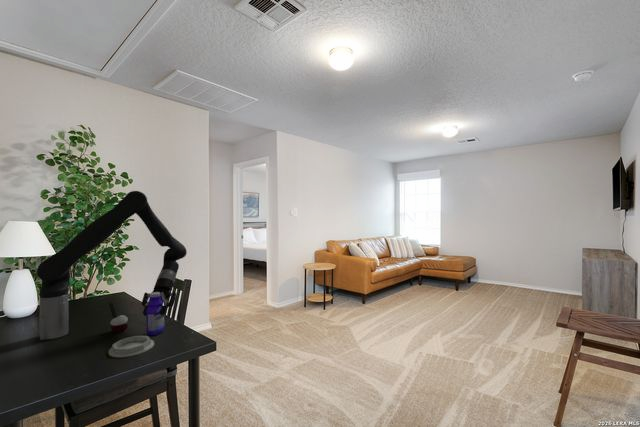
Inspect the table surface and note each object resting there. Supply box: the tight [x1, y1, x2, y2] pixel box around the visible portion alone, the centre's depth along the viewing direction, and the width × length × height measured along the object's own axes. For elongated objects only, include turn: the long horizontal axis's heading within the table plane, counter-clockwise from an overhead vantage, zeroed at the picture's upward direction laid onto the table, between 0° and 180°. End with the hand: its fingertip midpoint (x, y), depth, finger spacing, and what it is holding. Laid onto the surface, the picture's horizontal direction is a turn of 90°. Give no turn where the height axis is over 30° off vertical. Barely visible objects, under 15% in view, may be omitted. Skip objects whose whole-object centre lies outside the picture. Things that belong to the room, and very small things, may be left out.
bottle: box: [145, 291, 165, 336], centre depth 132 cm, size 7×6×17 cm
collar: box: [107, 335, 155, 358], centre depth 118 cm, size 15×15×2 cm
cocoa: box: [108, 302, 129, 334], centre depth 135 cm, size 10×6×12 cm, turn 51°
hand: (153, 315), depth 131 cm, fingers open, 6 cm apart
